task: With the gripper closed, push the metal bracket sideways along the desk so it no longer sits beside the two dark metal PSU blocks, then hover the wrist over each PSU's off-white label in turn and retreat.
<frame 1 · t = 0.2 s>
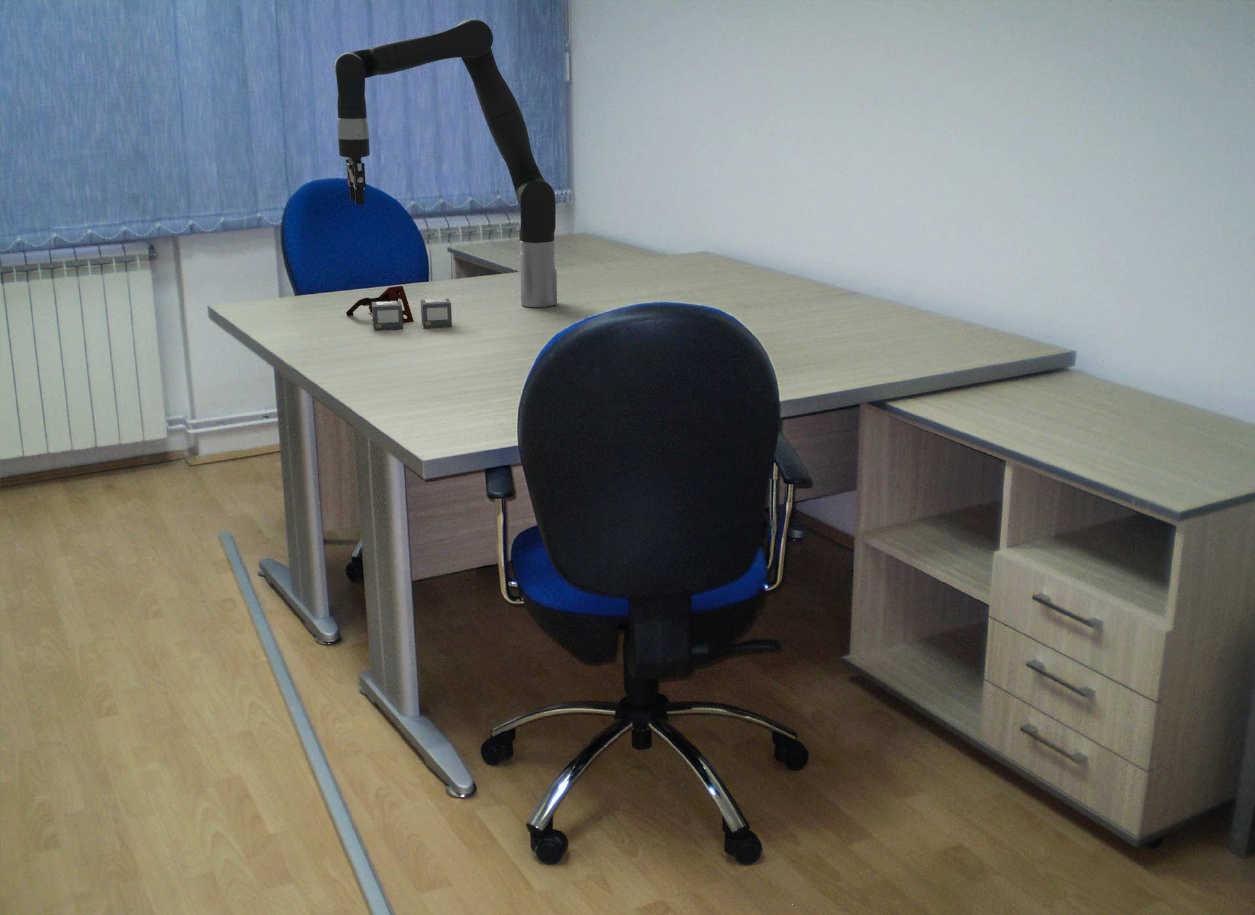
hand: (357, 202, 322), 29 cm above the table, fingers open, 8 cm apart
psu 1: (388, 327, 315), on the table
bracket: (379, 320, 325), on the table
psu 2: (436, 325, 318), on the table
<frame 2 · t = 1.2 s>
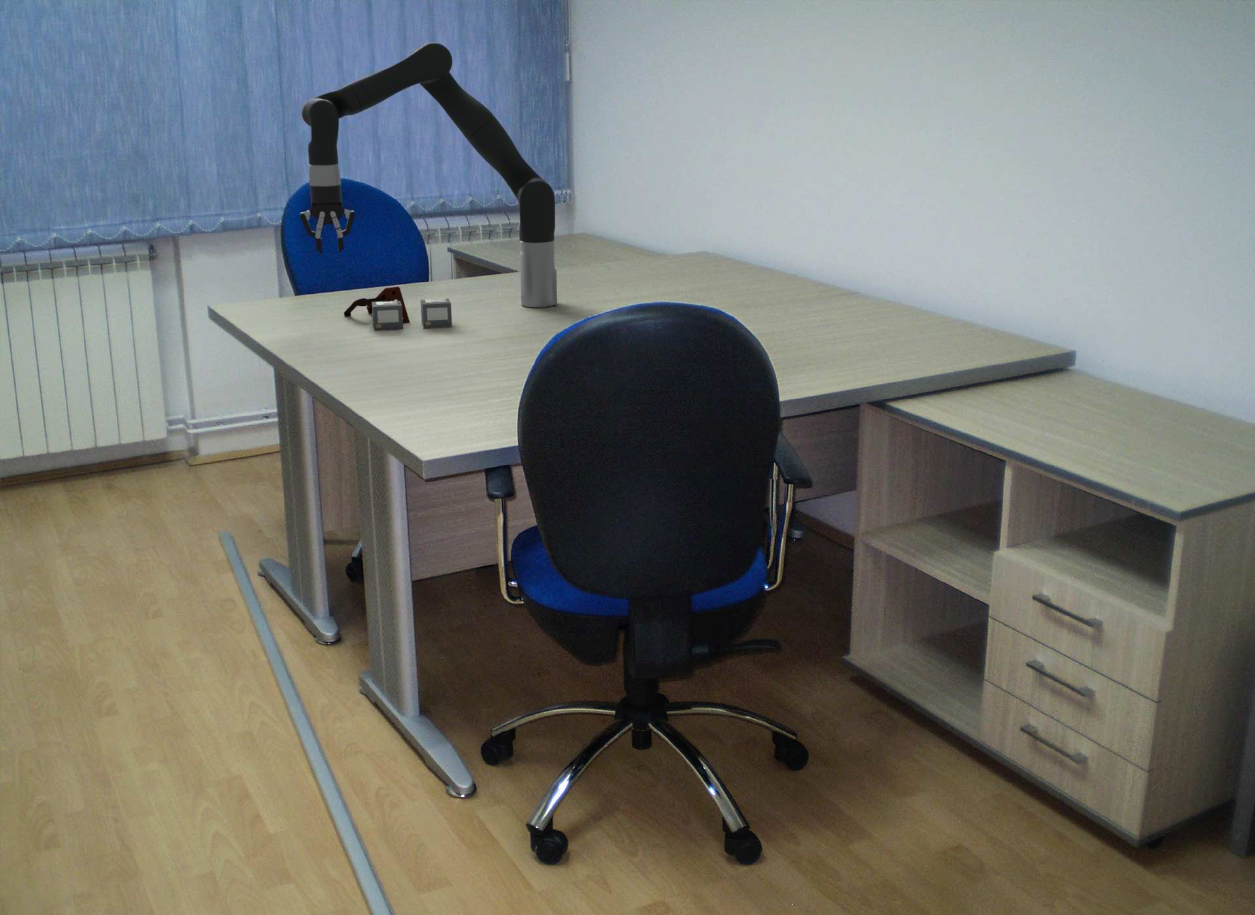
hand: (330, 252, 318), 17 cm above the table, fingers open, 4 cm apart
bracket: (376, 321, 324), on the table
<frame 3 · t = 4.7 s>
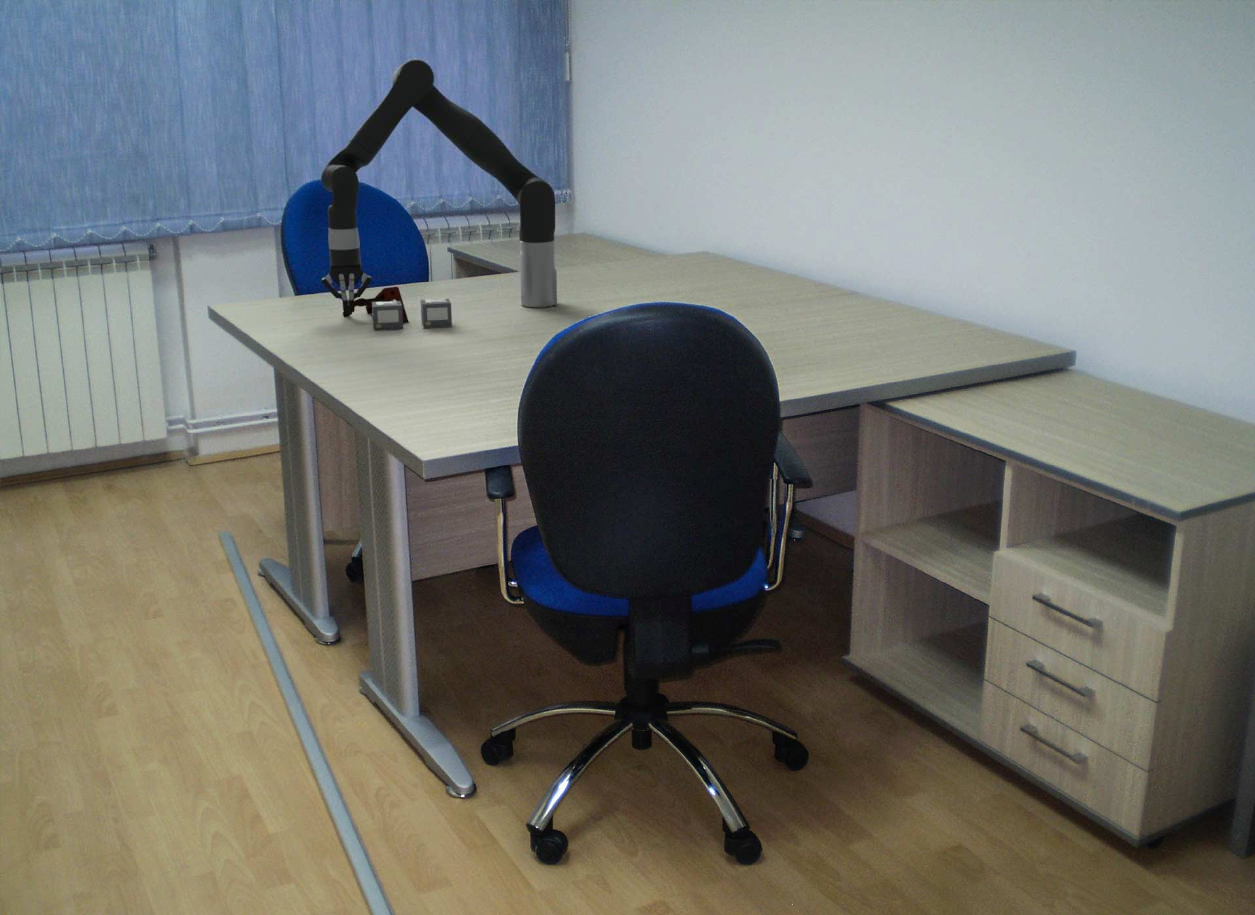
hand: (349, 314, 323), 1 cm above the table, fingers closed
bracket: (375, 321, 324), on the table, touching gripper
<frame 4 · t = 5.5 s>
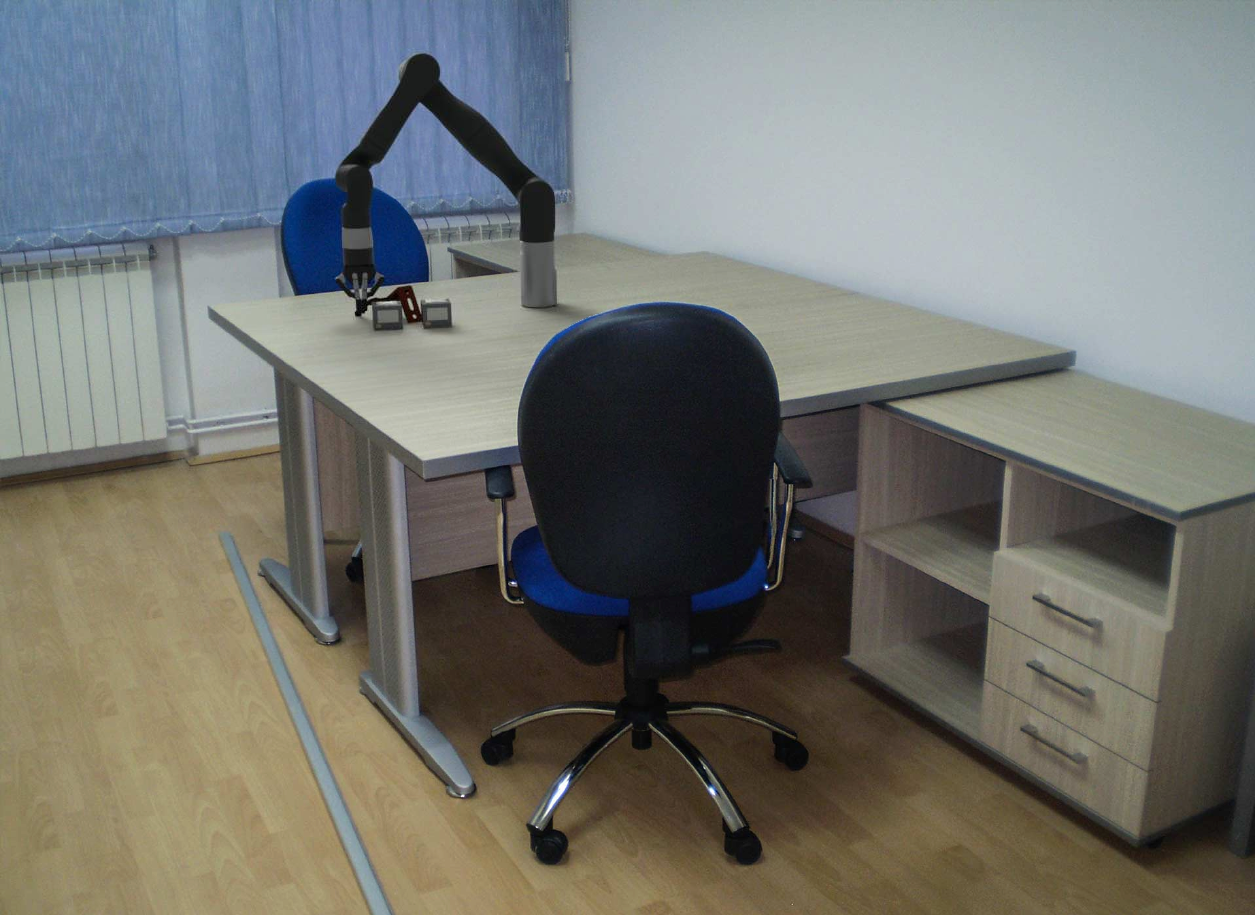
hand: (362, 313, 324), 2 cm above the table, fingers closed
bracket: (388, 320, 325), on the table, touching gripper
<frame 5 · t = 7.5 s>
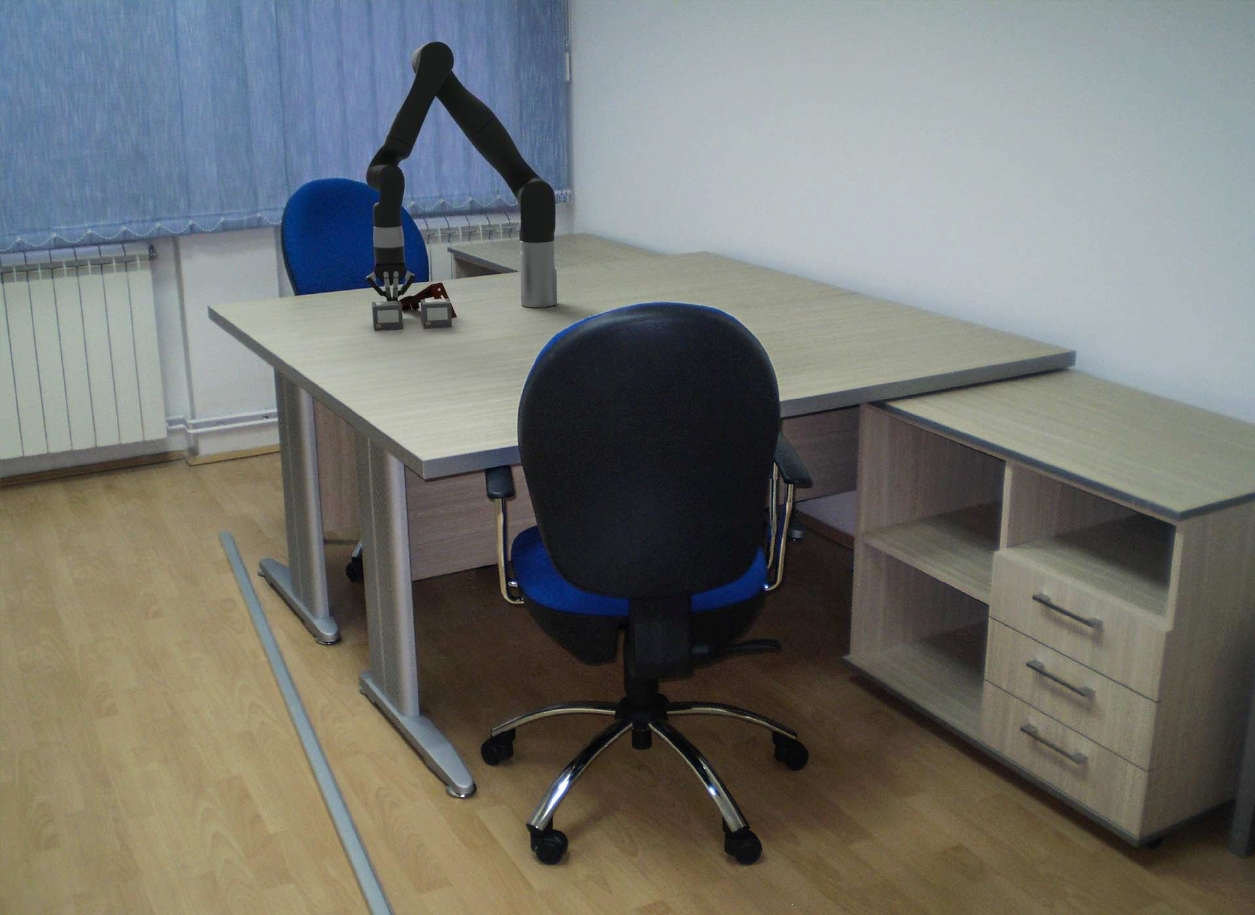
hand: (392, 311, 326), 2 cm above the table, fingers closed
bracket: (419, 318, 328), on the table, touching gripper
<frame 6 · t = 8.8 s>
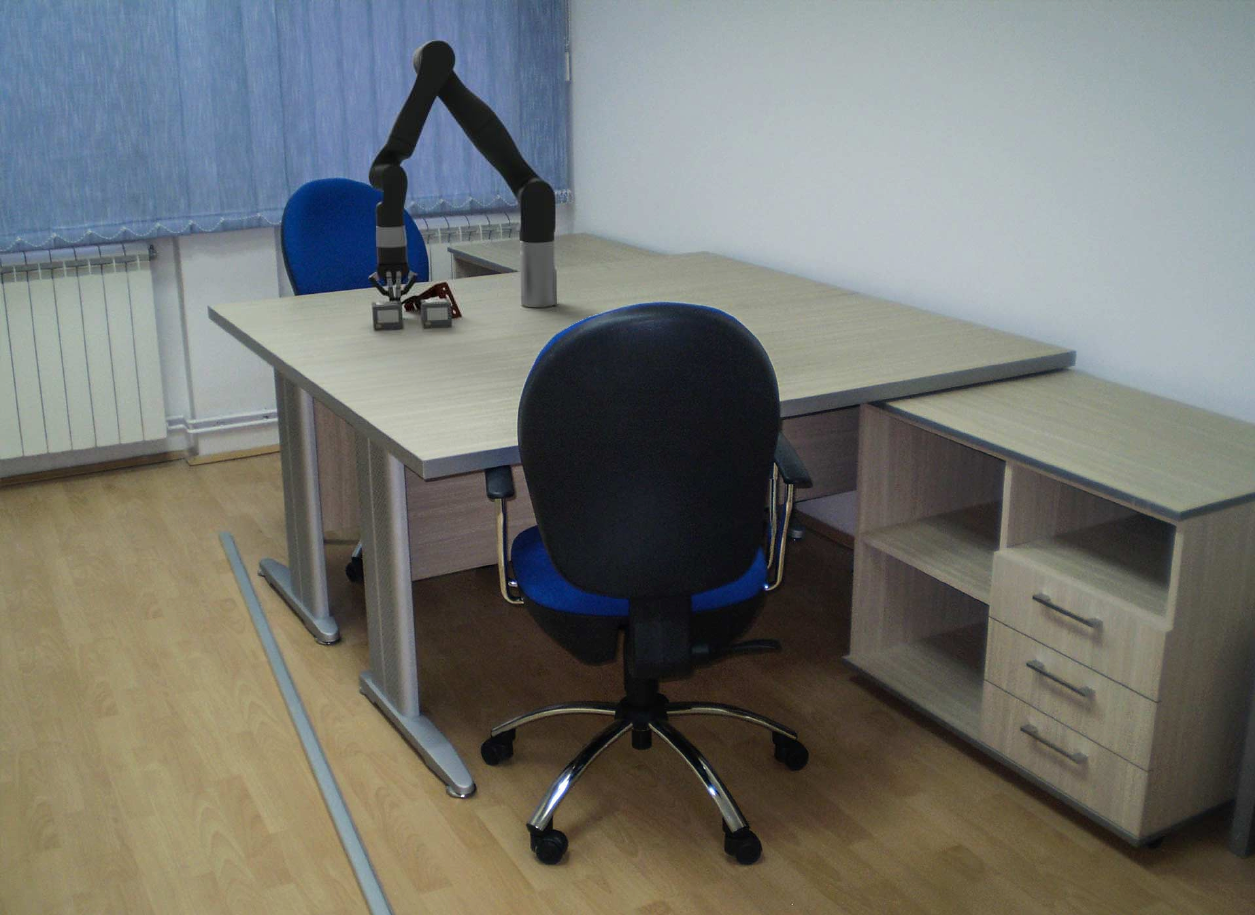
hand: (395, 311, 326), 2 cm above the table, fingers closed
bracket: (424, 317, 329), on the table
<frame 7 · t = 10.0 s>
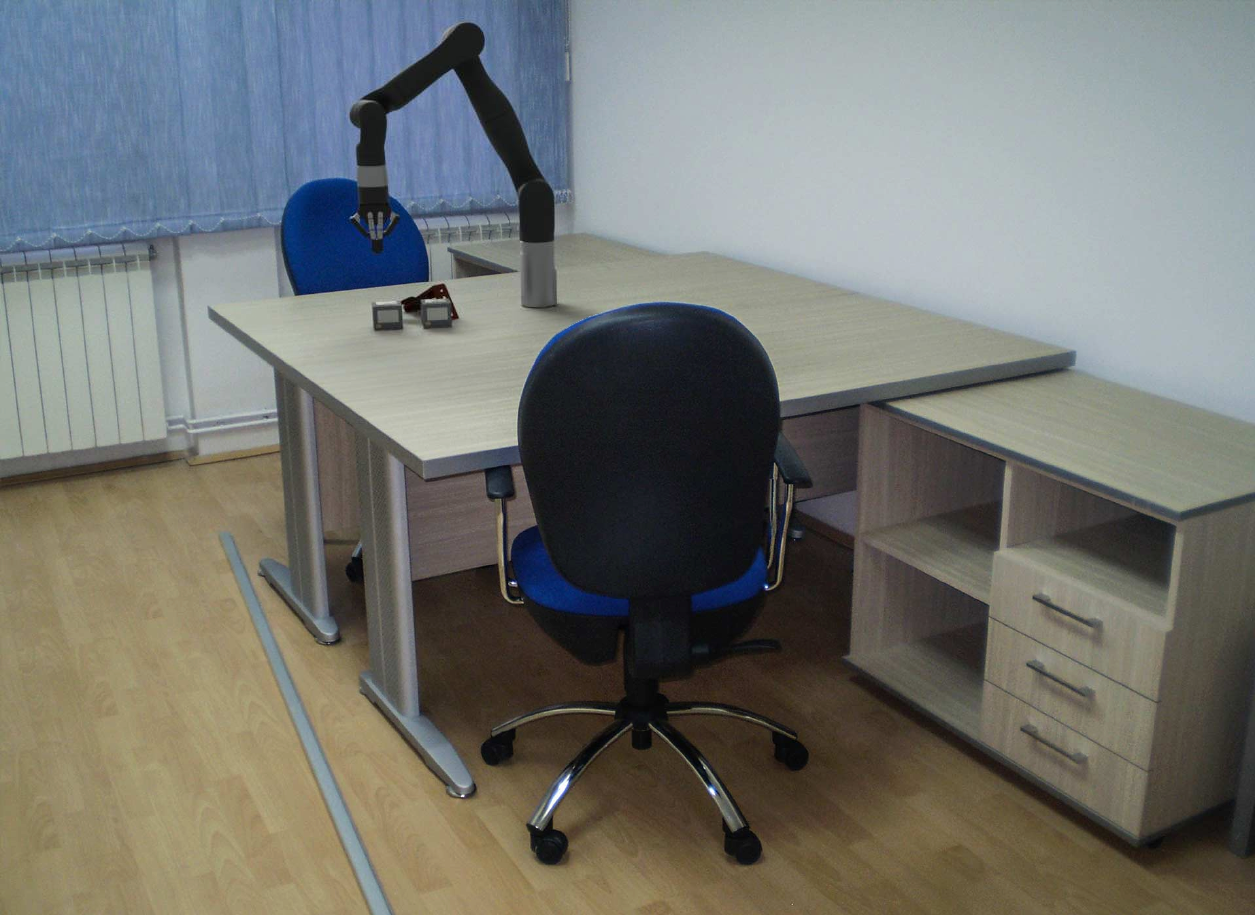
hand: (377, 253, 321), 17 cm above the table, fingers closed
bracket: (421, 319, 327), on the table
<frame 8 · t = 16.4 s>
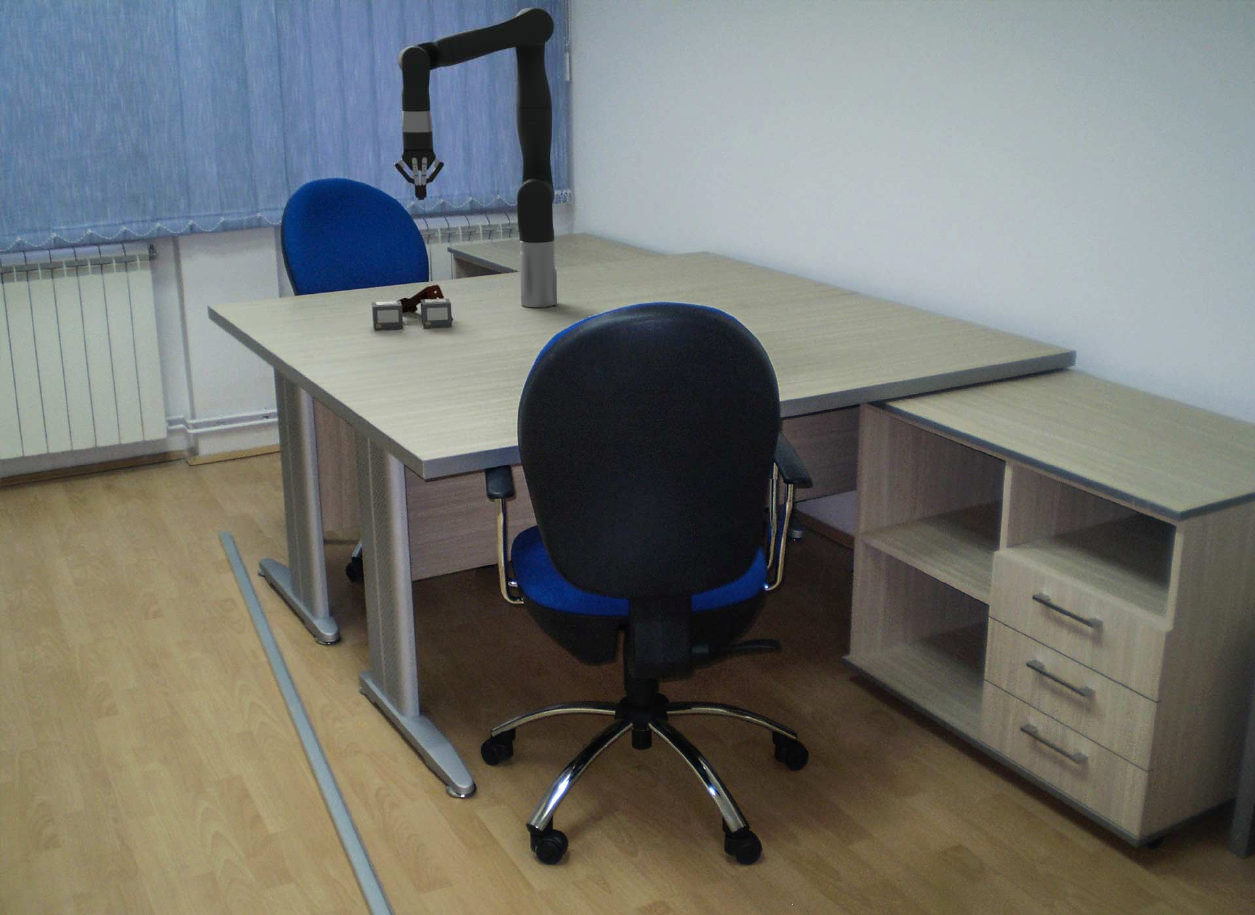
hand: (420, 199, 324), 29 cm above the table, fingers closed
bracket: (415, 320, 325), on the table
at the end: bracket inside the target area (6.0 cm from its centre), on the table; bracket moved 8.9 cm from its start; bracket touching table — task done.
